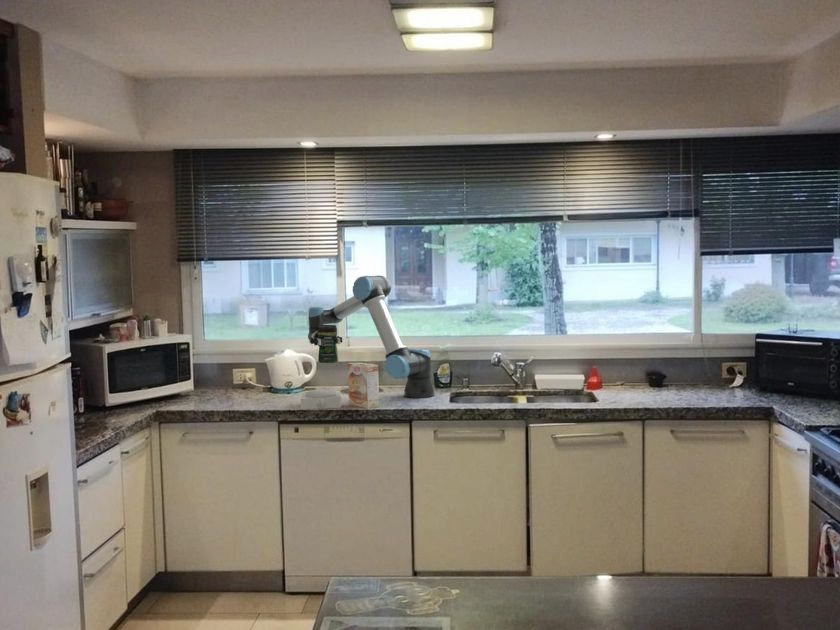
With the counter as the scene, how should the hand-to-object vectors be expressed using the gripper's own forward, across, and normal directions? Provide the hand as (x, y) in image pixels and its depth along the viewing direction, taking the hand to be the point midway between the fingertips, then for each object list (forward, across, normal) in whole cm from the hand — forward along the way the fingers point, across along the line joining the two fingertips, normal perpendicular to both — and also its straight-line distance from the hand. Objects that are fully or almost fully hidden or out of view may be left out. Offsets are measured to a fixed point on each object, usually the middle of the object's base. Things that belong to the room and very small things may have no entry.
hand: (329, 341), depth 368 cm
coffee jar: (-5, 0, -11) cm, 12 cm away
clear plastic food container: (+12, +8, -29) cm, 32 cm away
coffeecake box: (+20, -11, -29) cm, 37 cm away
